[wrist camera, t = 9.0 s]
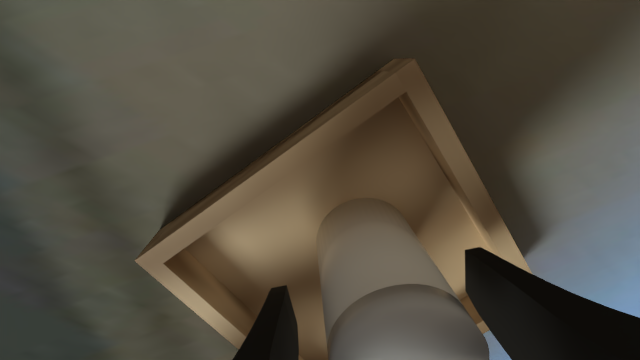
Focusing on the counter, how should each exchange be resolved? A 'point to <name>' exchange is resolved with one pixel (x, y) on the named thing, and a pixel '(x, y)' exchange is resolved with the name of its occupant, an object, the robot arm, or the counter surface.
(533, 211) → the counter surface
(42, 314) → the counter surface
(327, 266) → the shaker
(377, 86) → the tray
